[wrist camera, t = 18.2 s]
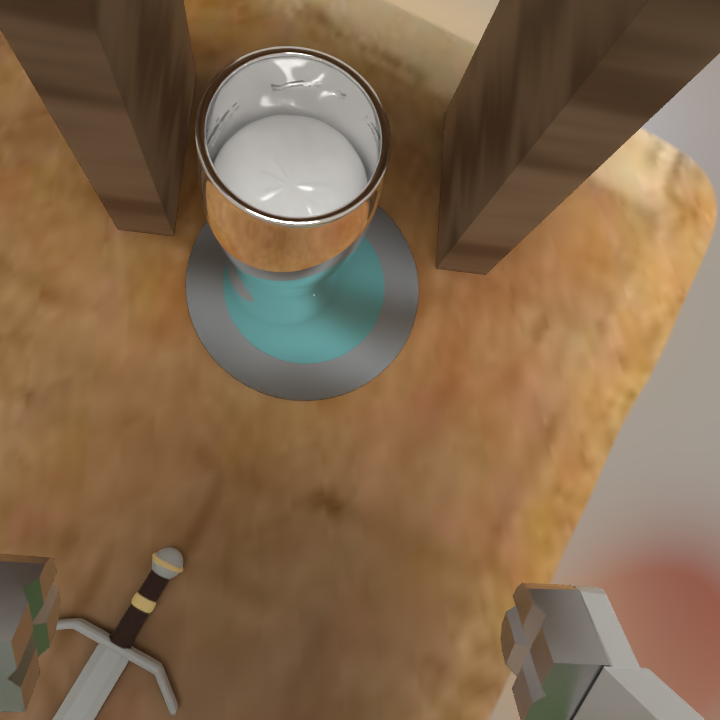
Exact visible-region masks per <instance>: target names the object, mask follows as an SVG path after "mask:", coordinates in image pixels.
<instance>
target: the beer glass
mask: <svg viewBox="0 0 720 720" xmlns="http://www.w3.org/2000/svg"><path fill="white" fill-rule="evenodd" d="M195 141H196V148H197V165H198V179H199V186H200V193H201V199H202V204H203V208H204V211H205V214H206V217H207V221H208V224H209V226H210V229H211V231H212V233H213V235H214V237H215V239H216V241H217V242H218V244H219V246H220V247H221V249H222V251H223V252H224V254H225V255H226V256H227V258H228V259H229V261H228V281H229V285H230V288H231V291H232V293H233V295H234V297H235V299H236V300H237V301H238V303H239V304H240V305H241V306H242V308H243V309H244V310H246V311H247V312H248V313H249V314H251V315H252V316H254V317H255V318H257V319H259V320H261V321H264V322H267V323H270V324H275V325H293V324H298V323H302V322H304V321H307V320H309V319H311V318H313V317H314V316H316V315H317V314H319V313H320V312H321V311H322V310H323V309H324V308H325V307H326V306H327V304H328V303H329V302H330V300H331V298H332V297H333V295H334V292H335V290H336V286H337V281H338V270H339V269H340V268H341V267H342V266H343V265H344V264H345V263H346V262H347V261H348V260H349V259H350V257H351V256H352V255H353V254H354V253H355V251H356V250H357V249H358V247H359V246H360V244H361V243H362V241H363V239H364V237H365V235H366V233H367V231H368V229H369V227H370V225H371V222H372V220H373V217H374V214H375V211H376V208H377V205H378V202H379V198H380V194H381V189H382V185H383V180H384V175H385V171H386V169H387V165H388V162H389V157H390V150H391V134H390V127H389V122H388V118H387V115H386V112H385V109H384V107H383V105H382V103H381V101H380V99H379V97H378V96H377V94H376V92H375V91H374V89H373V88H372V87H371V86H370V84H369V83H368V82H367V81H366V80H365V79H364V78H363V77H362V76H361V75H360V74H359V73H358V72H357V71H355V70H354V69H353V68H352V67H350V66H349V65H347V64H346V63H344V62H343V61H341V60H339V59H337V58H335V57H333V56H331V55H329V54H326V53H324V52H321V51H318V50H314V49H310V48H304V47H296V46H278V47H270V48H265V49H261V50H257V51H254V52H251V53H249V54H246V55H244V56H242V57H240V58H238V59H237V60H235V61H233V62H232V63H230V64H229V65H228V66H226V67H225V68H224V69H223V70H222V71H221V72H220V73H219V74H218V75H217V76H216V77H215V78H214V79H213V80H212V82H211V83H210V84H209V86H208V87H207V89H206V91H205V93H204V94H203V97H202V99H201V101H200V104H199V107H198V111H197V115H196V121H195Z"/></svg>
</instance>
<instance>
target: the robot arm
mask: <svg viewBox="0 0 720 720" xmlns="http://www.w3.org/2000/svg"><path fill="white" fill-rule="evenodd" d="M56 573H57V569H56V563H55V559H54V558H47V557H35V556H22V555H10V554H0V712H25V711H26V708H27V706H28V703H29V701H30V698H31V695H32V693H33V690H34V688H35V685H36V682H37V680H38V677H39V675H40V667H39V661H38V657H39V656H40V655H41V654H42V653H43V652H45V651H46V650H47V649H48V648H49V647H50V645H51V643H52V640H53V637H54V634H55V631H56V627H57V623H58V618H59V614H60V591H59V589H58V588H57V587H56V586H55V585H53V584H52V583H53V581H54V578H55V576H56ZM513 598H514V601H515V604H516V606H514V607H513V608H511V609H510V610H508V611H507V612H506V614H505V617H504V620H503V622H502V629H501V645H502V652H503V656H504V660H505V664H506V666H507V667H508V668H509V669H510V670H511V671H512V672H513V673H514V674H515V675H516V676H517V678H516V680H515V683H514V685H513V687H512V690H513V693H514V697H515V701H516V705H517V708H518V712H519V715H520V719H521V720H705V719H704V718H703V717H702V716H701V715H699V714H698V713H697V712H696V711H695V710H694V709H693V708H692V707H690V706H689V705H688V704H687V703H686V702H685V701H684V700H683V699H682V698H680V697H679V696H678V695H677V694H676V693H675V692H674V691H673V690H672V689H670V688H669V687H668V686H667V685H666V684H665V683H664V682H663V681H662V680H660V679H659V678H658V677H657V676H656V675H655V674H654V673H652V672H651V671H650V670H649V669H648V668H640V666H639V664H638V662H637V660H636V658H635V656H634V653H633V651H632V649H631V647H630V645H629V642H628V640H627V638H626V636H625V634H624V632H623V630H622V628H621V625H620V623H619V621H618V619H617V617H616V614H615V612H614V610H613V608H612V606H611V604H610V602H609V599H608V597H607V595H606V593H605V592H604V591H603V590H602V589H601V588H600V587H586V586H571V585H557V584H532V583H521V584H520V585H519V586H518V587H517V588H516V590H515V593H514V595H513Z"/></svg>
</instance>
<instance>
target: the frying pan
mask: <svg viewBox="0 0 720 720" xmlns="http://www.w3.org/2000/svg"><path fill="white" fill-rule="evenodd" d="M152 558H153V559H152V570H151V572H150V574H149V575H148V577H147V579H146V580H145V582H144V583H143V585H142V587H141V588H140V590H139V591H138V592H137V593H136V594H135V595H134V596H133V598H132V600H131V605H130V607H129V608H128V610H127V611H126V613H125V615H124V616H123V618H122V620H121V621H120V623H119V625H118V626H117V628H116V630H115V631H114V633H113V635H111V634H109V633H107V632H106V631H104V630H102V629H100V628H99V627H97V626H95V625H93V624H91V623H90V622H88V621H86V620H84V619H82V618H72V619H59V620H58V623H57V627H56V630H62V629H74V630H76V631H78V632H79V633H81V634H83V635H85V636H86V637H88V638H90V639H92V640H94V641H95V642H97V643H99V644H98V646H97V647H96V649H95V650H94V652H93V654H92V655H91V657H90V659H89V660H88V662H87V664H86V665H85V667H84V668H83V670H82V672H81V673H80V675H79V677H78V678H77V680H76V682H75V683H74V685H73V686H72V688H71V690H70V691H69V693H68V695H67V696H66V698H65V700H64V701H63V703H62V705H61V706H60V708H59V709H58V711H57V713H56V714H55V716H54V718H53V719H52V720H94V719H95V717H96V715H97V714H98V712H99V710H100V709H101V707H102V705H103V704H104V702H105V700H106V698H107V697H108V695H109V693H110V692H111V690H112V688H113V687H114V685H115V683H116V682H117V680H118V678H119V677H120V675H121V673H122V672H123V670H124V668H125V667H126V665H127V663H128V662H129V661H131V662H133V663H135V664H136V665H138V666H140V667H142V668H144V669H145V670H147V671H149V672H151V673H153V674H154V675H155V677H156V679H157V682H158V684H159V687H160V689H161V692H162V694H163V697H164V699H165V702H166V704H167V707H168V710H169V712H170V714H172V715H175V713H176V711H177V708H178V703H177V701H176V698H175V696H174V693H173V691H172V688H171V685H170V683H169V680H168V678H167V675H166V673H165V670H164V668H163V665H162V664H161V662H159V661H157V660H156V659H154V658H152V657H150V656H148V655H147V654H145V653H143V652H141V651H140V650H138V649H136V648H134V647H132V646H131V645H130V644H131V643H132V641H133V639H134V638H135V636H136V634H137V633H138V631H139V629H140V628H141V626H142V624H143V623H144V621H145V619H146V618H147V616H148V614H149V613H151V612H152V611H153V610H154V608H155V606H156V602H157V599H158V598H159V596H160V594H161V593H162V591H163V589H164V588H165V586H166V584H167V583H168V581H169V579H170V578H173V577H175V576H177V575H178V574H179V573H181V572H183V557H182V554H181V553H180V552H179V551H178V550H177V549H175V548H172V547H166V548H162V549H160V550H159V551H158V552H156V553H153V555H152Z"/></svg>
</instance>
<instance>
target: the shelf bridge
mask: <svg viewBox="0 0 720 720" xmlns="http://www.w3.org/2000/svg"><path fill="white" fill-rule="evenodd" d="M0 29H1V31H2V33H3V34H4V36H5V38H6V39H7V41H8V43H9V45H10V46H11V48H12V50H13V51H14V53H15V55H16V56H17V58H18V60H19V62H20V63H21V65H22V67H23V68H24V70H25V72H26V74H27V75H28V77H29V79H30V80H31V82H32V84H33V85H34V87H35V89H36V91H37V92H38V94H39V96H40V97H41V99H42V101H43V102H44V104H45V106H46V108H47V109H48V111H49V113H50V114H51V116H52V118H53V120H54V121H55V123H56V125H57V126H58V128H59V130H60V131H61V133H62V135H63V137H64V138H65V140H66V142H67V143H68V145H69V147H70V148H71V150H72V152H73V154H74V155H75V157H76V159H77V160H78V162H79V164H80V166H81V167H82V169H83V171H84V172H85V174H86V176H87V177H88V179H89V181H90V183H91V184H92V186H93V188H94V189H95V191H96V193H97V194H98V196H99V198H100V200H101V201H102V203H103V205H104V206H105V208H106V210H107V212H108V213H109V215H110V217H111V218H112V220H113V222H114V223H115V225H116V227H117V229H120V230H128V231H136V232H144V233H152V234H160V235H168V236H174V230H175V223H176V216H177V209H178V202H179V195H180V188H181V181H182V173H183V166H184V159H185V152H186V145H187V138H188V131H189V124H190V117H191V110H192V103H193V96H194V89H195V81H196V71H195V65H194V59H193V53H192V47H191V42H190V36H189V30H188V24H187V18H186V13H185V7H184V1H183V0H0ZM719 53H720V0H500V1H499V3H498V6H497V7H496V10H495V12H494V14H493V16H492V18H491V20H490V22H489V24H488V26H487V28H486V30H485V32H484V35H483V36H482V39H481V40H480V43H479V45H478V47H477V49H476V51H475V53H474V55H473V57H472V59H471V61H470V63H469V65H468V67H467V69H466V71H465V73H464V75H463V78H462V80H461V82H460V84H459V86H458V88H457V90H456V92H455V94H454V96H453V98H452V100H451V102H450V104H449V106H448V108H447V111H446V113H445V122H444V139H443V157H442V174H441V191H440V209H439V226H438V243H437V260H436V269H444V270H452V271H461V272H469V273H477V274H485V275H486V274H487V273H488V272H489V271H490V270H491V269H492V268H493V267H494V266H495V265H496V264H497V263H498V262H499V261H500V260H501V259H502V258H504V257H505V256H506V255H507V254H508V253H509V252H510V251H511V250H512V249H513V248H514V247H515V246H516V245H517V244H518V243H519V242H520V241H522V240H523V239H524V238H525V237H526V236H527V235H528V234H529V233H530V232H531V231H532V230H533V229H534V228H535V227H536V226H537V225H538V224H539V223H541V222H542V221H543V220H544V219H545V218H546V217H547V216H548V215H549V214H550V213H551V212H552V211H553V210H554V209H555V208H556V207H557V206H558V205H560V204H561V203H562V202H563V201H564V200H565V199H566V198H567V197H568V196H569V195H570V194H571V193H572V192H573V191H574V190H575V189H576V188H578V187H579V186H580V185H581V184H582V183H583V182H584V181H585V180H586V179H587V178H588V177H589V176H590V175H591V174H592V173H593V172H594V171H595V170H597V169H598V168H599V167H600V166H601V165H602V164H603V163H604V162H605V161H606V160H607V159H608V158H609V157H610V156H611V155H612V154H613V153H614V152H616V151H617V150H618V149H619V148H620V147H621V146H622V145H623V144H624V143H625V142H626V141H627V140H628V139H629V138H630V137H631V136H632V135H634V134H635V133H636V132H637V131H638V130H639V129H640V128H641V127H642V126H643V125H644V124H645V123H646V122H647V121H648V120H649V119H650V118H651V117H653V115H655V113H657V112H658V111H659V110H660V109H661V108H662V107H663V106H664V105H665V104H666V103H667V102H668V101H669V100H670V99H672V98H673V97H674V96H675V95H676V94H677V93H678V92H679V91H680V90H681V89H682V88H683V87H684V86H685V85H686V84H687V83H688V82H690V81H691V80H692V79H693V78H694V77H695V76H696V75H697V74H698V73H699V72H700V71H701V70H702V69H703V68H704V67H705V66H706V65H707V64H709V63H710V62H711V61H712V60H713V59H714V58H715V57H716V56H717V55H718V54H719ZM228 261H229V259H228V258H227V256H226V255H225V254H224V252H223V251H222V249H221V247H220V246H219V244H218V242H217V241H216V239H215V237H214V235H213V233H212V231H211V229H210V226H209V224H208V221H207V222H206V224H205V225H204V227H203V228H202V229H201V231H200V233H199V235H198V237H197V239H196V241H195V243H194V246H193V248H192V251H191V254H190V257H189V262H188V267H187V274H186V296H187V304H188V308H189V313H190V317H191V320H192V322H193V325H194V328H195V330H196V332H197V334H198V336H199V338H200V340H201V342H202V344H203V345H204V347H205V348H206V349H207V351H208V352H209V354H210V355H211V356H212V358H213V359H214V360H215V361H216V362H217V363H218V364H219V365H220V366H221V367H222V368H223V369H224V370H225V371H226V372H228V373H229V374H230V375H231V376H232V377H234V378H235V379H237V380H238V381H240V382H241V383H243V384H245V385H246V386H248V387H250V388H252V389H254V390H257V391H259V392H261V393H264V394H267V395H270V396H274V397H277V398H283V399H289V400H301V401H312V400H322V399H328V398H332V397H336V396H340V395H343V394H345V393H348V392H351V391H353V390H355V389H357V388H359V387H361V386H363V385H364V384H366V383H368V382H369V381H371V380H372V379H373V378H375V377H376V376H378V375H379V374H380V373H381V372H382V371H383V370H384V369H385V368H386V367H387V366H388V365H389V364H390V363H391V362H392V361H393V360H394V358H395V357H396V356H397V355H398V353H399V352H400V351H401V349H402V347H403V346H404V344H405V342H406V340H407V339H408V336H409V334H410V332H411V329H412V327H413V324H414V320H415V316H416V312H417V305H418V277H417V270H416V266H415V262H414V259H413V255H412V253H411V250H410V248H409V246H408V243H407V241H406V240H405V238H404V236H403V234H402V233H401V231H400V229H399V228H398V227H397V225H396V224H395V223H394V221H393V220H392V219H391V218H390V217H389V216H388V215H387V214H386V213H385V211H384V210H383V209H382V208H380V207H379V206H378V205H377V208H376V211H375V214H374V217H373V220H372V222H371V225H370V227H369V229H368V231H367V233H366V235H365V237H364V239H363V241H362V243H361V244H360V246H359V247H358V249H357V250H356V251H355V253H354V254H353V255H352V256H351V257H350V259H349V260H348V261H347V262H346V263H345V264H344V265H343V266H342V267H341V268H340V269H339V270H338V281H337V286H336V290H335V292H334V295H333V297H332V298H331V300H330V302H329V303H328V304H327V306H326V307H325V308H324V309H323V310H322V311H321V312H320V313H319V314H317V315H316V316H314V317H313V318H311V319H309V320H307V321H304V322H302V323H298V324H293V325H275V324H270V323H267V322H264V321H261V320H259V319H257V318H255V317H254V316H252V315H251V314H249V313H248V312H247V311H246V310H244V309H243V308H242V306H241V305H240V304H239V303H238V301H237V300H236V299H235V297H234V295H233V293H232V291H231V288H230V285H229V281H228Z"/></svg>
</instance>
